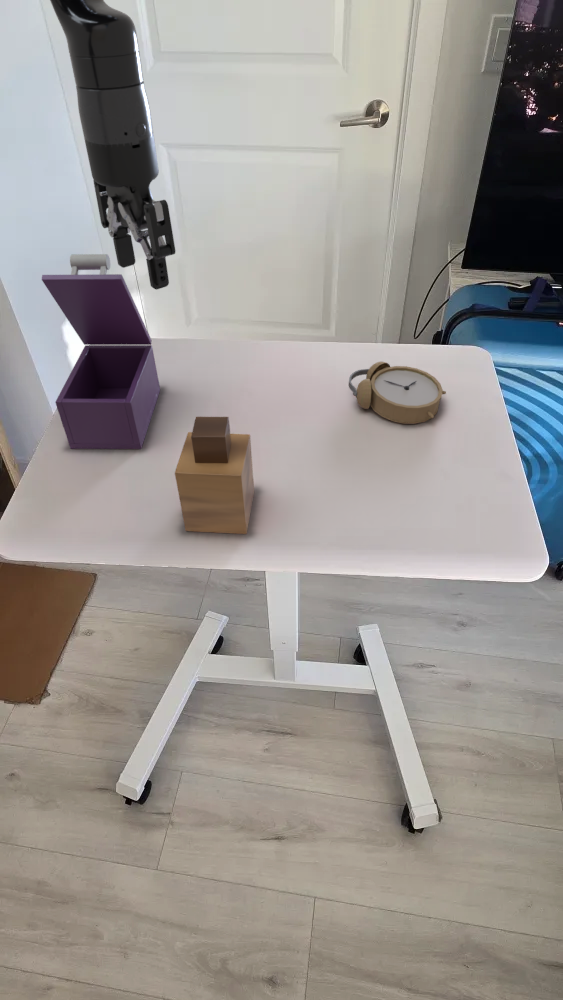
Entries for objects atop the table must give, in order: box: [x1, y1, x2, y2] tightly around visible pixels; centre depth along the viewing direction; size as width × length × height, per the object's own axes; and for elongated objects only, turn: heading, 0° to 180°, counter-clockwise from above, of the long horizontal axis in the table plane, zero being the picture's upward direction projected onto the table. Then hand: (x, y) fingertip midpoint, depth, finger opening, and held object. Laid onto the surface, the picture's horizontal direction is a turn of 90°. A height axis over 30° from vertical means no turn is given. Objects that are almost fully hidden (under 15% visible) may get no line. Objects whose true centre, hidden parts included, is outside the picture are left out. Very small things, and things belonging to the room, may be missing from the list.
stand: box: [174, 431, 255, 535], centre depth 80 cm, size 8×8×10 cm
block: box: [191, 416, 231, 463], centre depth 75 cm, size 4×4×4 cm
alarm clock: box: [348, 361, 447, 425], centre depth 99 cm, size 11×5×15 cm
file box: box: [54, 344, 161, 450], centre depth 96 cm, size 16×11×8 cm
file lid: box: [41, 253, 152, 346], centre depth 92 cm, size 17×11×5 cm
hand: (143, 276), depth 80 cm, fingers open, 8 cm apart
